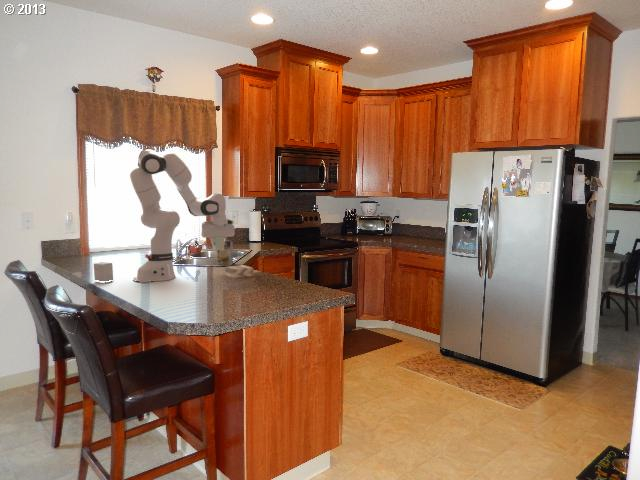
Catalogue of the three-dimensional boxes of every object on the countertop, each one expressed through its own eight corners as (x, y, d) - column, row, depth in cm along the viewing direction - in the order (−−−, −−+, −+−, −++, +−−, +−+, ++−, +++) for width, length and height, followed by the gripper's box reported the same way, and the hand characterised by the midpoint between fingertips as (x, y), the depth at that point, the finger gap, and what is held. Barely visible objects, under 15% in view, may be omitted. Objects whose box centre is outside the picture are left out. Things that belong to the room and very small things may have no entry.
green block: (216, 250, 275) (216, 237, 275) (212, 249, 279) (212, 236, 279) (224, 250, 279) (224, 236, 278) (220, 249, 282) (220, 236, 282)
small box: (113, 282, 255) (112, 262, 254) (105, 283, 250) (104, 264, 249) (103, 280, 258) (102, 261, 257) (94, 282, 253) (93, 263, 252)
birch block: (234, 278, 266) (233, 269, 266) (225, 275, 276) (225, 266, 276) (253, 276, 273) (253, 267, 272) (244, 273, 283) (244, 265, 282)
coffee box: (217, 265, 310) (216, 241, 308) (220, 263, 316) (219, 240, 315) (230, 265, 309) (230, 241, 308) (233, 264, 316) (233, 240, 314)
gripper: (204, 221, 268) (204, 246, 270) (236, 221, 281) (236, 244, 283) (199, 221, 273) (199, 245, 274) (230, 220, 286) (230, 243, 287)
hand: (218, 244), depth 279 cm, fingers closed on green block, 5 cm apart
